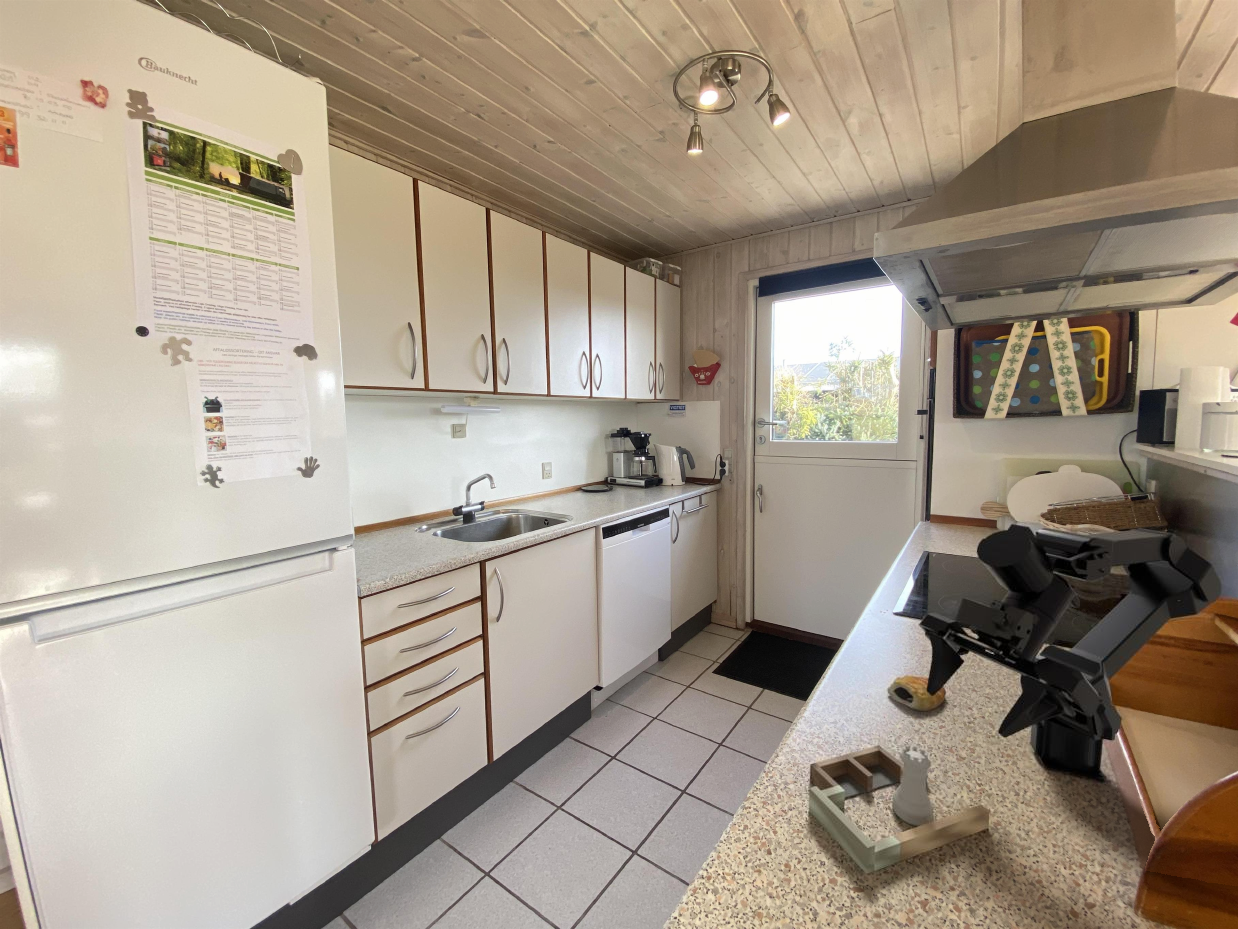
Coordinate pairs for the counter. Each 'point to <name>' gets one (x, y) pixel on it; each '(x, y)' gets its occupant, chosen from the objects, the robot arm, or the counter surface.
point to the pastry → (915, 693)
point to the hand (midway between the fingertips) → (962, 713)
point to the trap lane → (866, 775)
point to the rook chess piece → (913, 789)
